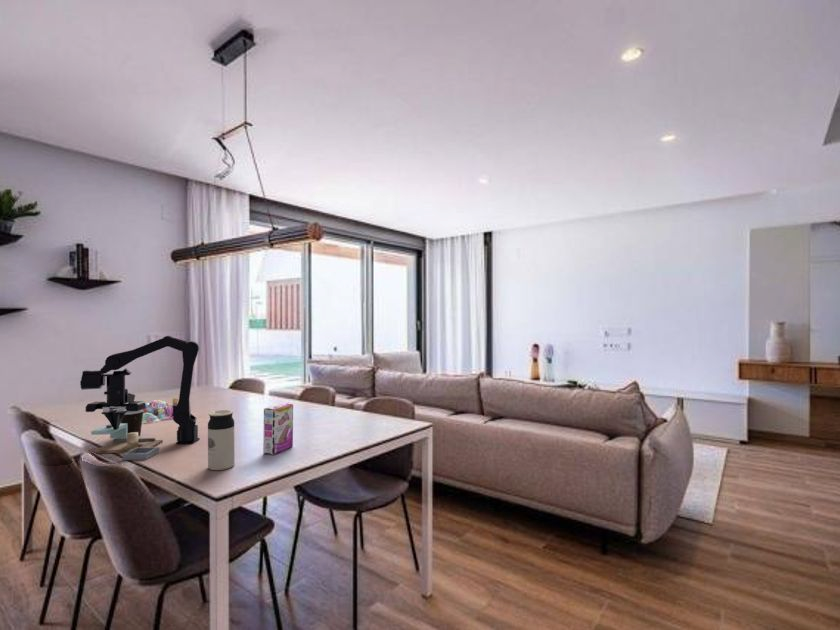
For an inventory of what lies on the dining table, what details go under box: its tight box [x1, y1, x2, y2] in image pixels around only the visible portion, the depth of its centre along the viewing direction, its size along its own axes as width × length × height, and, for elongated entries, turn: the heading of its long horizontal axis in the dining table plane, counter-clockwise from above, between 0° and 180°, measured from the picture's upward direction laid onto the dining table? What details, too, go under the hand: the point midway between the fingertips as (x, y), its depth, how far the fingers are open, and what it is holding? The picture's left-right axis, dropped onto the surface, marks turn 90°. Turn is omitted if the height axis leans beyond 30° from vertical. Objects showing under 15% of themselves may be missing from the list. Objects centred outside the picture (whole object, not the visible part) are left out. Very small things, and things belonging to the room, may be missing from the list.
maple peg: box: [127, 432, 139, 449], centre depth 166 cm, size 4×4×6 cm
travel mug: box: [207, 409, 236, 471], centre depth 147 cm, size 8×8×18 cm
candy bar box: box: [262, 402, 294, 456], centre depth 164 cm, size 11×5×16 cm, turn 159°
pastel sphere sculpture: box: [142, 397, 179, 424], centre depth 217 cm, size 25×24×9 cm
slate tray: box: [122, 446, 160, 461], centre depth 158 cm, size 8×8×2 cm
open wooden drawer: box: [93, 437, 164, 454], centre depth 169 cm, size 18×12×2 cm
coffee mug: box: [120, 410, 143, 437], centre depth 183 cm, size 12×9×10 cm
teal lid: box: [90, 423, 128, 439], centre depth 168 cm, size 6×11×6 cm, turn 2°
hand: (116, 429), depth 166 cm, fingers closed
